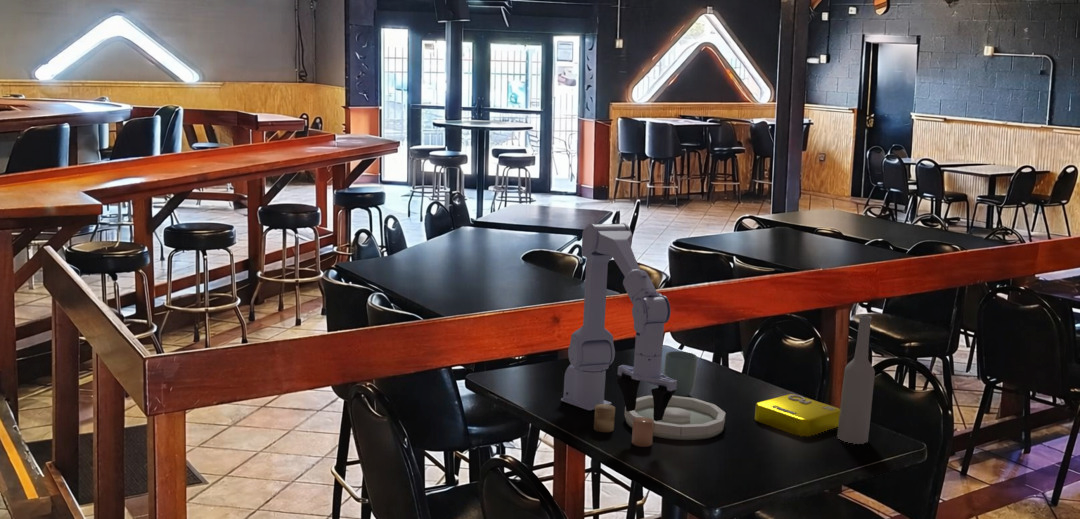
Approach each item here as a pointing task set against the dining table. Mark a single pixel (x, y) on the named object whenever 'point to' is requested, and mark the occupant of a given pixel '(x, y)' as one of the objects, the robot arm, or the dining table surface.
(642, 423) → the terracotta bead
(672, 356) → the cup
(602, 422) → the maple bead
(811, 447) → the dining table surface
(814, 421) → the element tile
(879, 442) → the dining table surface
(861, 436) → the bottle
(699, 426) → the groove tray
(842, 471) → the dining table surface
